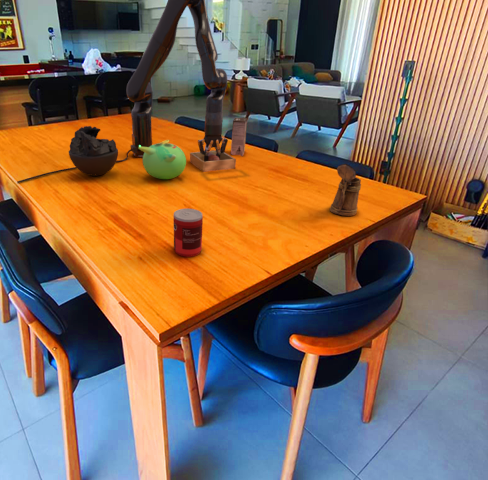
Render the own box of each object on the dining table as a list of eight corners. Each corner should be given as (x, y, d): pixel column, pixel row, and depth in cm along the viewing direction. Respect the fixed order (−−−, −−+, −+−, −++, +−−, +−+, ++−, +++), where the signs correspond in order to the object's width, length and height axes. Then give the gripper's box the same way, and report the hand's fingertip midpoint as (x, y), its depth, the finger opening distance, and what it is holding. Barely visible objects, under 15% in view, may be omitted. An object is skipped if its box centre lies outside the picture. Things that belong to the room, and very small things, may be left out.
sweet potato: (221, 167, 172) (221, 156, 169) (211, 168, 170) (212, 157, 168) (211, 161, 180) (212, 150, 178) (202, 161, 179) (203, 151, 176)
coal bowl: (102, 165, 175) (97, 120, 165) (129, 175, 164) (125, 127, 153) (63, 174, 164) (55, 127, 153) (89, 185, 152) (82, 135, 141)
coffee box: (232, 151, 198) (234, 117, 189) (244, 151, 197) (247, 117, 188) (230, 155, 191) (232, 120, 182) (243, 156, 190) (246, 121, 181)
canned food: (184, 242, 112) (184, 206, 106) (207, 249, 109) (208, 212, 102) (168, 252, 107) (167, 214, 101) (191, 260, 103) (192, 222, 97)
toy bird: (191, 174, 165) (191, 138, 156) (177, 187, 152) (177, 148, 143) (152, 170, 169) (151, 135, 161) (136, 182, 156) (133, 144, 148)
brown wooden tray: (202, 173, 167) (203, 162, 164) (189, 162, 180) (189, 152, 177) (235, 169, 172) (236, 159, 169) (220, 160, 184) (220, 150, 182)
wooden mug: (319, 215, 129) (331, 160, 119) (336, 204, 138) (348, 152, 127) (345, 222, 125) (359, 166, 114) (360, 210, 133) (375, 157, 123)
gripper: (225, 120, 170) (222, 159, 180) (195, 122, 166) (194, 162, 176) (232, 123, 164) (229, 164, 174) (201, 125, 160) (200, 166, 170)
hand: (211, 162), depth 175 cm, fingers closed on sweet potato, 4 cm apart
